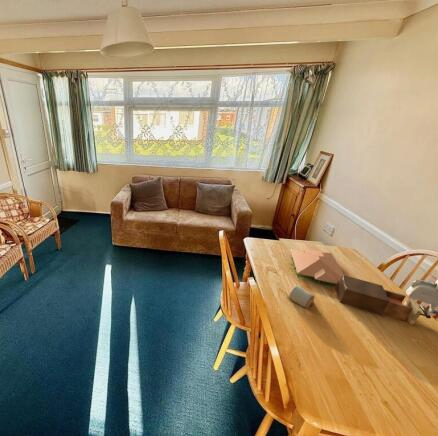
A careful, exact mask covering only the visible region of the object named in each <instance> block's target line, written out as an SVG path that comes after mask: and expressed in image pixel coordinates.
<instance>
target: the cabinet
mask: <svg viewBox="0 0 438 436" xmlns="http://www.w3.org/2000/svg"><path fill="white" fill-rule="evenodd" d="M385 290H386V289H385V288H384V285H382V284H378V283H374V282H371V281H367V280H364V279H360V278H356V277H352V276H349V275H345V274H344V275H342V278H341V280H340V282H339V284H338V285H337V286H336V289H335V291H336V296H337V301H339V303H340V304H344V305H346V306H350V307H353V308H356V309H359V310H363V311H366V312H368V313H373V314H376V315H378V316H382V315H383V314H382V313H383V312H384V310H385V308H386V307H387V305H388V303H389V302H390V301H389V299H388V297H387V295H386V292H385Z"/></svg>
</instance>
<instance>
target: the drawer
mask: <svg viewBox="0 0 438 436" xmlns="http://www.w3.org/2000/svg"><path fill="white" fill-rule="evenodd" d="M384 290H385V292H386V295H387V297H389V298H393V299H396V300H400V301H401V303H402V304H398V303H395V302H391V301H390V302H389V303H388V305H387V307H386V308H385V310H384V312H383V313H382V315H385V316H388V317H391V318H393V319H397V320H401V321H403V322H405V321H407V322H408V323H409V324H410V325H415V323H416V322H417V320H418V319H419V317H420V316H422V317H425V318H426V319H432V316H431V315H430V314H431V313H429V311H428V310H427V308H426V307H425V306H424V305H421V306H420V305H419V304H418V302H417V300H414V299H410V298H409V297H408V296H407V295H405V294H402V293H398V292H395V291H391V290H388V289H384ZM406 297H407V298H406ZM405 298H406V299H405ZM404 300H405V301H404Z"/></svg>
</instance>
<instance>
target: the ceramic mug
mask: <svg viewBox="0 0 438 436" xmlns="http://www.w3.org/2000/svg"><path fill="white" fill-rule="evenodd" d="M288 299H289V300H290V301H292V302H294V303H296V304H297V305H299V306H300V307H302V308H305V309H308V308H309V307H310V306H311V305H312V304H313V302H314V300H315V296H314V295H313V294H312V293H311V292H310V291H307V290H306V289H304V288H303V287H301V286H299V285H298V284H297V285H295V286H294V287H293V288H292V289H291V291H290V292H289V295H288Z"/></svg>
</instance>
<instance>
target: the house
mask: <svg viewBox="0 0 438 436" xmlns="http://www.w3.org/2000/svg"><path fill="white" fill-rule="evenodd" d="M303 250H304V251H303ZM303 250H297V249H291V248H290V252H291V256H292V258H291V260H292V259H293V261H292V263H294V264H293V267H295V268H296V269H295V268H294V271H296V272H295V275H296V274H297V275H296V278H297V277H298V278H301V279H303V280H304V278H305V279H306V280H307V281H312V282H317V283H319V285H322V286H323V285H325V286H326V287H331V288H333V287H334V286H335V287H337V286H338V284H339V282H340V280H341V278H342V275H345V274H344V273H343V270H342V269H341V267H340V265H339V263H338V262H337V260H336V258H335V256H334V254H333V253H332V252H327V251H321V250H316V249H311V248H305V247H304V248H303ZM307 278H308V279H307Z"/></svg>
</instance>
